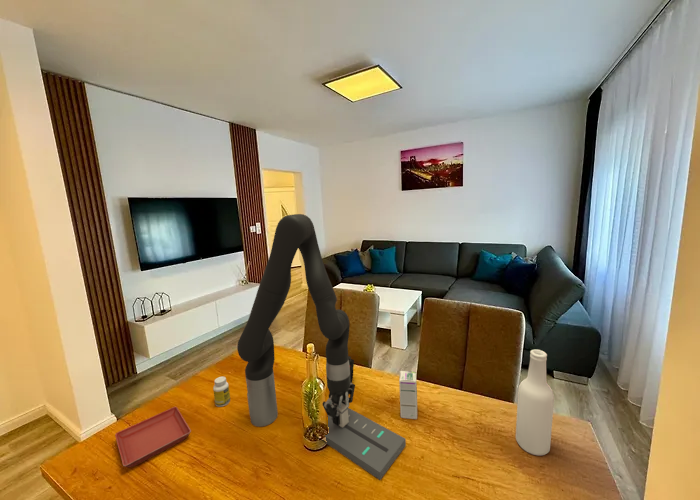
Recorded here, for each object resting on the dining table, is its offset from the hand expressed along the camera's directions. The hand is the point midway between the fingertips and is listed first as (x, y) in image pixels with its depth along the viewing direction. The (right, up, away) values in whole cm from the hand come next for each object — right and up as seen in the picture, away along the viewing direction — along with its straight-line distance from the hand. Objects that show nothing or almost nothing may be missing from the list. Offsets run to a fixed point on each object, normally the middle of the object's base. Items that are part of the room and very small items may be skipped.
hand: (340, 420), depth 97 cm
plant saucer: (-61, -7, 0) cm, 62 cm away
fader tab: (0, -1, 0) cm, 1 cm away
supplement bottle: (-46, -3, +17) cm, 49 cm away
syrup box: (+24, -2, +7) cm, 25 cm away
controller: (+2, 0, +25) cm, 25 cm away
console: (+6, -4, -4) cm, 8 cm away
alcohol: (+58, -3, -8) cm, 58 cm away
